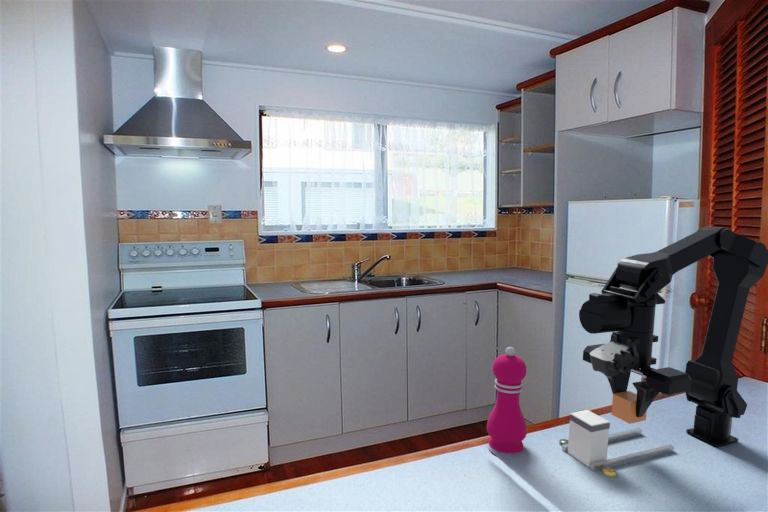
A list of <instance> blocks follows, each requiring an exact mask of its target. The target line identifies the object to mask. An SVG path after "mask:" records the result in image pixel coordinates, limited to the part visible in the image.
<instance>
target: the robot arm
mask: <svg viewBox="0 0 768 512" xmlns="http://www.w3.org/2000/svg"><path fill="white" fill-rule="evenodd" d="M706 257H710V258H712V259H713V261H712V270H713V273H714V275H715V277H716V280H717V288H716V291H715V292H716V293H715V297H714V300H713V305H712V309H711V314H710V317H709V323H708V327H707V331H706V335H705V339H704V343H703V346H702V347H703V348H702V351H701V354H700V355H699V356H698V357H697V358H695V360H691V359H690V360H688V361H687V362H686V364H685V371H681V370H678V369H676V368H673V367H671V366H666V367H661V368H654V367H651V366H653V365H657V360H658V359H657V358H656V357H653V355H652V354H653V345H654V344H653V343H659V336H658V335H656V334H654V332H655V331H654V330H655V320H656V318H655V317H656V307H657V306H656V305H664V304H666V299H664V297H662V296H661V295H660V293H659V292H660V291H661V290H663V289H664V288H665V287H666V286H668V285H669V284H670V283H671V282H672V279H673V276H674V275H675V274H676V273H678V272H680V271H681V270H684V269H686V268H688V267H690V266H691V265H693V264H695V263H696V262H699V261H701V260H703V259H705V258H706ZM767 268H768V248H767V246H766V244H764V243H763V242H761V241H759V242H758V241H756V240H754V239H751V238H748V237H746V236H743V235H740V234H737V233H736V232H735V231H733V230H731V229H729V228H728V227H722V226H721V227H720V226H706V225H705V226H703V227H699V228H698V229H697V231H695V232H694V233H691V234H690V235H687V236H685V237H684V238H681V239H679V240H677V241H675V242H672V243H671V244H668V245H667V246H664V247H662V248H660V249H659V250H657V251H654V252H653V251H652V252H647V253H638V254H635V255H630V256H625V257H624V258H622V259H620V260H619V261H618V262H617V266H616V268H615V270H614V271H613V272H612V274H611V275H610V277H608V278H609V279H608V280H607V282H606V283H605V285H604V286H603V288H602V289H601V290H600V291H601V293H597V292H592V293H589V294H588V300H586V301H584V302H583V303H582V305H581V307H580V309H579V312H578V315H579V322H580V325H581V327H582V328H583V330H585V331H586V332H587V333H589V334H590V335H591V334H594V335H595V334H604V333H612V334H610V339H609V340H610V341H609V342H607V343H601V344H600V343H599V344H589V345H587V346H585V348H584V350H583V352H582V361H584V362H587V363H589V364H591V366H592V370H593V371H594V372H599V373H601V374H603V375H604V377H606V378H607V380H608V384H609V386H610V389H611V393H612V395H613V394H615V393H620V392H625V391H628V386H629V383H630V378H631V373H635V374H637V375H639V376H641V378H640V381H636V382H635V381H634V382H632V383H631V384H632V385H633V386H634V388H635V390H636V394H637V399H636V416H637V417H638V418H639V417H642V416H643V415H644V413H645V412H646V410H647V411H648V409H649V407H650V406H651V404H652V403H653V402H654V400H655V398H657V396H658V395H659V394H662V395H674V394H679V393H683V392H684V393H685V396H686V400H687V402H691V403H693V404H696V406H695V415H694V421H693V427H692V428H687V429H686V431H685V432H686V433H687V434H689V435H691V436H694V437H695V438H698V439H700V440H701V441H704V442H706V443H708V444H710V445H712V446H714V447H723V446H726V445H730V444H733V443H738V442H739V438H737V437H736V436H733V435H732V434H731V432H732V423H733V418H736V419H741V416H744V415H745V413H746V410H747V407H748V403H747V402H746V401H745V399H744V398H743V396H742V395H741V394H740V392H739V391H738V385H739V384H738V383H739V377H738V374H737V371H736V369H735V366H734V364H733V358H734V355H735V351H736V346H737V342H738V338H739V334H740V331H741V325H742V323H743V322H742V320H743V317H744V314H745V313H744V312H745V308H746V305H747V302H748V297H749V292H750V290H751V288H752V287H753V286H755V284H757V283H758V282H759V281H760V280H761V279H763V277H764V276H765V274H766V273H765V272H766V270H767Z"/></svg>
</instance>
